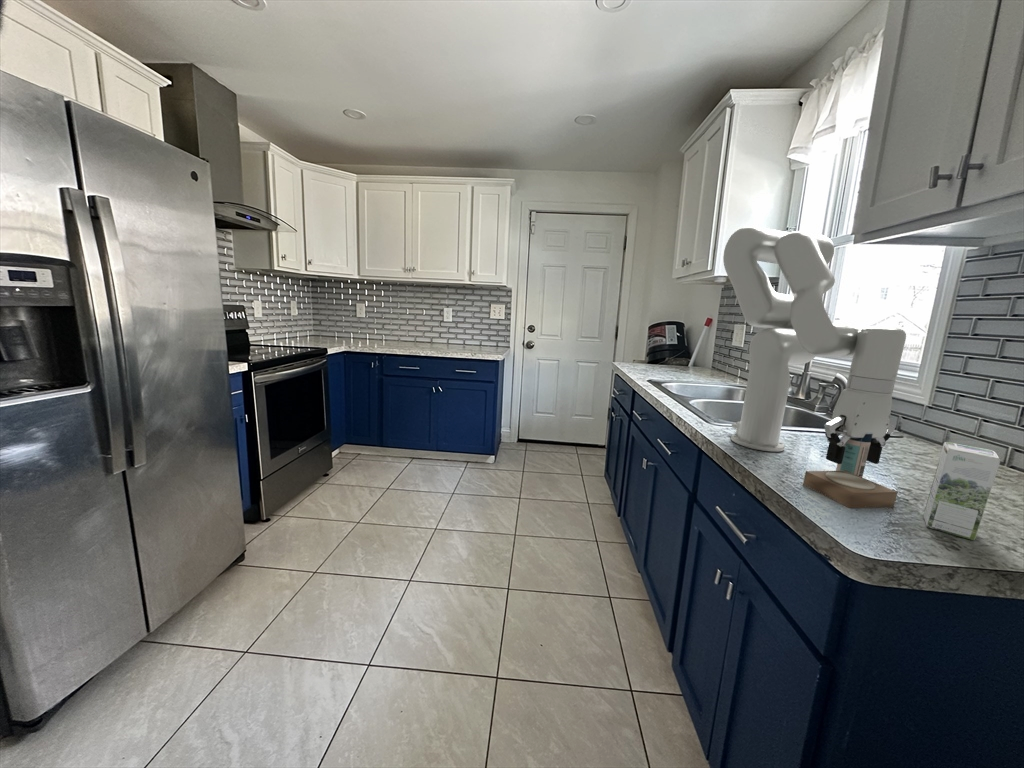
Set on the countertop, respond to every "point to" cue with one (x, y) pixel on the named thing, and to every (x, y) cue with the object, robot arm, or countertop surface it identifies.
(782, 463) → the countertop surface
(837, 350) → the robot arm
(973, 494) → the syrup box
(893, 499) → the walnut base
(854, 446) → the beer can
